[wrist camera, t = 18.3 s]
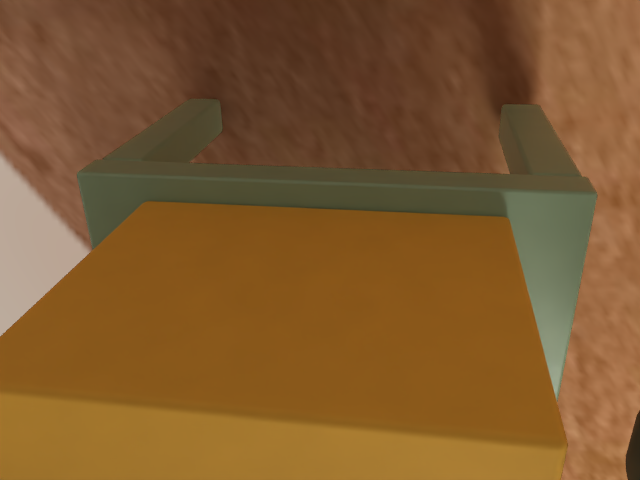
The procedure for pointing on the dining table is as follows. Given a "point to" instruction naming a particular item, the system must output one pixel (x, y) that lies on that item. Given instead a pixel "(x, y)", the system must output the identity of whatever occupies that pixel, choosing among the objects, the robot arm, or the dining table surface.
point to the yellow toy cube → (283, 353)
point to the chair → (375, 197)
